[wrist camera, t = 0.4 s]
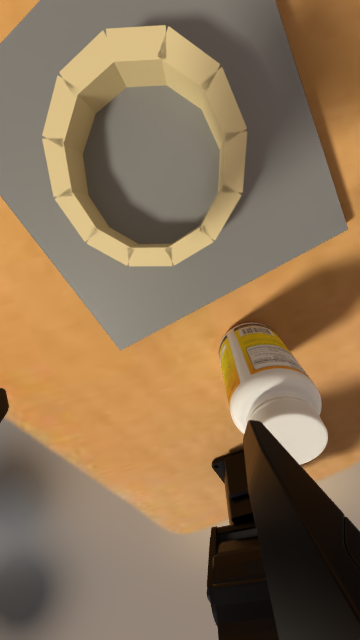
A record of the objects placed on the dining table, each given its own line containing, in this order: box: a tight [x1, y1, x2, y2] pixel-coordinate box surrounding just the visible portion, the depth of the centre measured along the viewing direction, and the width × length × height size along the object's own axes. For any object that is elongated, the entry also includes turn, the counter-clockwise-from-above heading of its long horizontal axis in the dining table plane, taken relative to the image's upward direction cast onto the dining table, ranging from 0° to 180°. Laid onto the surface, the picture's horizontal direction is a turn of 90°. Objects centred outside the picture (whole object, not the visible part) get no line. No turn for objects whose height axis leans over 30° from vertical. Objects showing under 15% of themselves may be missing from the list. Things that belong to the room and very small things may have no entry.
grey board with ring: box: [0, 0, 348, 351], centre depth 15 cm, size 20×20×4 cm
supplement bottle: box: [219, 323, 328, 465], centre depth 17 cm, size 6×6×10 cm
